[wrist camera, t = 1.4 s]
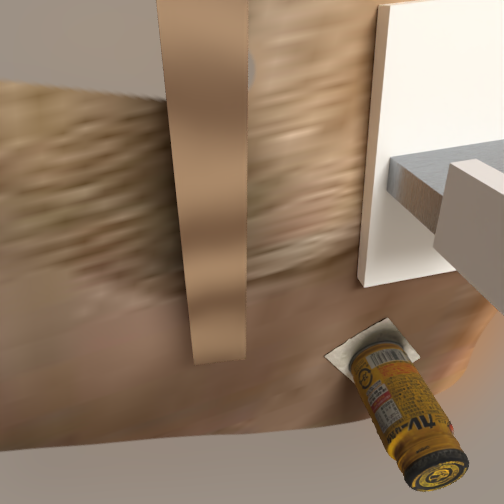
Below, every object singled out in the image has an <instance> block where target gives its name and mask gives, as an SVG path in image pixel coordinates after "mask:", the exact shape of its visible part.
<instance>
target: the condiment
mask: <svg viewBox="0 0 504 504" xmlns="http://www.w3.org/2000/svg"><path fill="white" fill-rule="evenodd" d="M325 357H326V358H327V359H328V360H329V361H330V362H331V363H332V364H333V365H334V366H336V367H337V368H338V369H339V370H340V371H341V372H342V373H343V374H345V375H346V376H347V377H348V378H349V379H350V380H351V381H352V382H354V383H355V385H356V387H357V390H358V393H359V395H360V397H361V399H362V401H363V403H364V404H365V407H366V408H367V410H368V413H369V415H370V417H371V418H372V422H373V423H374V425H375V427H376V430H377V433H378V435H379V437H380V439H381V440H382V443H383V445H384V447H385V449H386V452H387V453H388V454H389V456H390V457H391V458H393V459H394V460H396V461H397V465H398V467H399V469H400V470H401V472H402V473H403V476H404V480H405V481H406V483H407V484H408V485H409V487H411V488H412V489H414V490H416V491H422V492H426V491H433V490H437V489H441V488H444V487H446V486H448V485H451V484H452V483H454V482H456V481H457V480H458V479H460V478H461V477H462V476H463V475H464V474H465V473H466V471H467V470H468V467H469V461H468V458H467V456H466V454H465V453H464V452H463V450H462V449H461V448H460V444H459V442H458V441H457V440H456V438H455V437H454V436H453V434H454V430H453V426H452V424H451V422H450V421H449V419H448V417H447V416H446V414H445V413H444V411H443V410H442V408H441V406H440V405H439V404H438V402H437V401H436V399H435V397H434V396H433V394H432V393H431V391H430V389H429V388H428V386H427V385H426V383H425V382H424V380H423V378H422V377H421V375H420V374H419V373H418V371H417V369H416V368H415V366H414V365H413V363H412V362H414V361H416V360H417V359H419V358H420V356H419V355H418V354H417V353H416V351H415V350H414V349H413V348H412V347H411V345H410V344H409V343H408V342H407V340H406V339H405V338H404V337H403V336H402V334H401V333H400V332H399V331H398V329H397V328H396V327H395V326H394V325H393V323H392V322H391V321H390V320H389V318H386V319H384V320H383V321H381V322H378V323H376V324H375V325H373V326H371V327H370V328H368V329H367V330H364V331H363V332H361V333H359V334H358V335H356V336H355V337H353V338H352V339H349V340H348V341H347V342H346V343H344V344H343V345H341V346H339V347H337V348H336V349H334V350H333V351H332V352H330V353H329V354H327V355H325Z"/></svg>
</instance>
